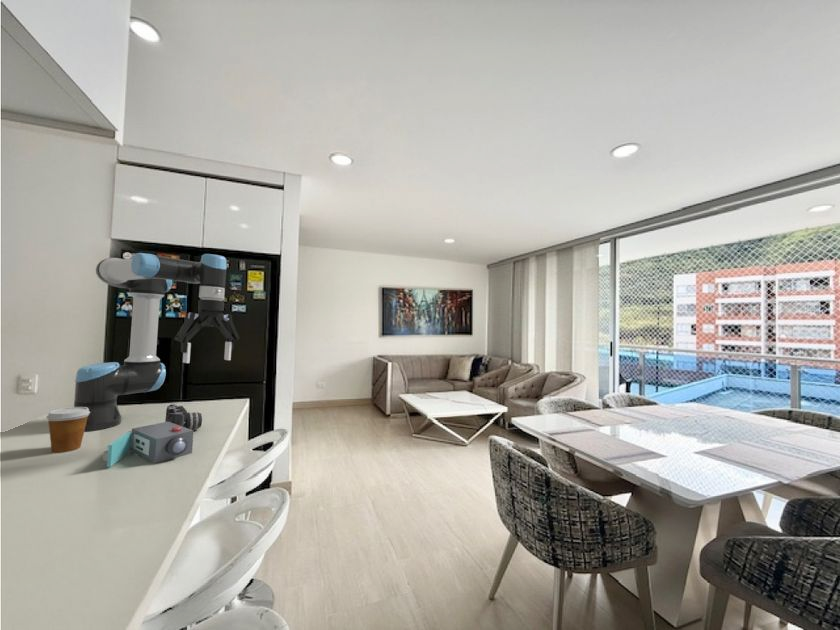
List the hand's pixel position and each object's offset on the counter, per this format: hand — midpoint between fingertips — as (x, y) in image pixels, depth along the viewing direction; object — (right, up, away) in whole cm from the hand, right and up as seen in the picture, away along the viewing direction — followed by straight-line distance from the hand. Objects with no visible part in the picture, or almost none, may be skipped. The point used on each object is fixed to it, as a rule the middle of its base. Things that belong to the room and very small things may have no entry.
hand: (207, 361), depth 115 cm
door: (-16, -26, -17) cm, 35 cm away
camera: (-15, -28, +9) cm, 33 cm away
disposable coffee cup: (-38, -26, -10) cm, 47 cm away
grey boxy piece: (-8, -27, -10) cm, 30 cm away
